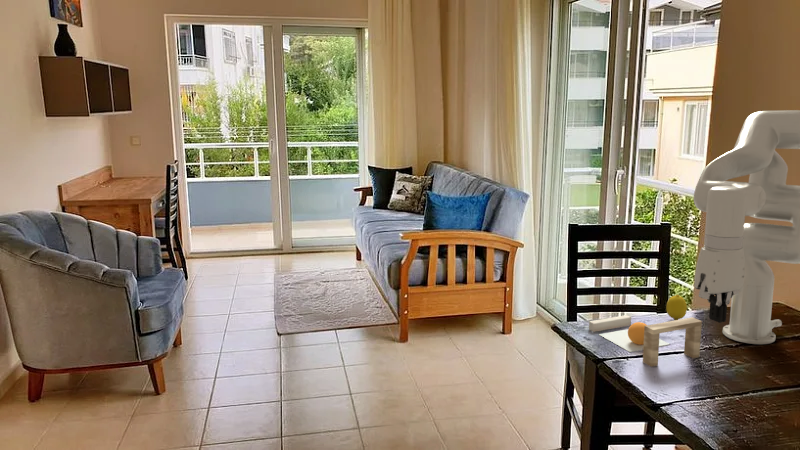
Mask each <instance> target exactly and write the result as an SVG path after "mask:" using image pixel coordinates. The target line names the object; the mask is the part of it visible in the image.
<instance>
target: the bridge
mask: <svg viewBox="0 0 800 450" xmlns="http://www.w3.org/2000/svg"><path fill="white" fill-rule="evenodd" d="M702 323H703V320H700V319H697V318H696V317H693V316H692V317H686V318H681V319H678V320H670V321H664V322H658V323H653V324H646V325H647V326H645V328H644V347H643V350H642V352H643V353H642V363H643V364H645V365H647V366H649V367H651V368H652V367H658V365H659V351H660V347H659V339H660V334H664V333H669V332H676V331H680V330H681V331H682V330H685V333H684V335H685V337H684V349H683V350H684V351H683V354H684V355H685V356H687V357H689V358H692V359H697V358H700V352H701V338H702V337H701V336H702V325H703V324H702Z"/></svg>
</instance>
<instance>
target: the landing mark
mask: <svg viewBox="0 0 800 450" xmlns="http://www.w3.org/2000/svg"><path fill="white" fill-rule="evenodd" d="M628 329H629V328H628ZM628 329H627V328H626V329H621V330H616V331H611V332H604V333H599V334H598V336H599V337H601V336H602V338H603V337H604V339H605V340H607V341H608V342H610V341H611V343H612V342H613V344H614V345H616V346H617V345H618V347H619V348H622V349H623V350H625V351H626V352H628V353H633V352H634V353H635V352H639V351H643V347H644V344H643V345H638V344H635V343H633V342H632V341H631V340H630V339H629V336H628ZM670 345H671V344H670V343H669V342H667V341H665V340H663V339H661V338H659V348H660V347H661V348H662V347H665V346H670Z"/></svg>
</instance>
